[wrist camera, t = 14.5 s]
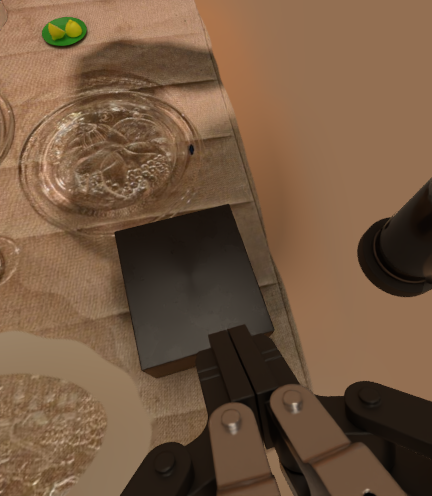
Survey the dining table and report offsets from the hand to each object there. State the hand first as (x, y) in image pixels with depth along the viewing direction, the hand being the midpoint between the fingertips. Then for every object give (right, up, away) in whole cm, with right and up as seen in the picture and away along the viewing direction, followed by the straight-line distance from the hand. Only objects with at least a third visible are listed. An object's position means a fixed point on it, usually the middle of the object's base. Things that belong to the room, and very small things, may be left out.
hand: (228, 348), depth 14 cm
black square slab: (-3, 0, +22) cm, 23 cm away
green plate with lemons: (-28, +43, +51) cm, 73 cm away
